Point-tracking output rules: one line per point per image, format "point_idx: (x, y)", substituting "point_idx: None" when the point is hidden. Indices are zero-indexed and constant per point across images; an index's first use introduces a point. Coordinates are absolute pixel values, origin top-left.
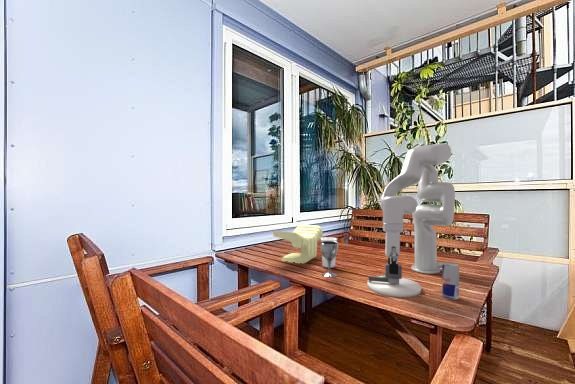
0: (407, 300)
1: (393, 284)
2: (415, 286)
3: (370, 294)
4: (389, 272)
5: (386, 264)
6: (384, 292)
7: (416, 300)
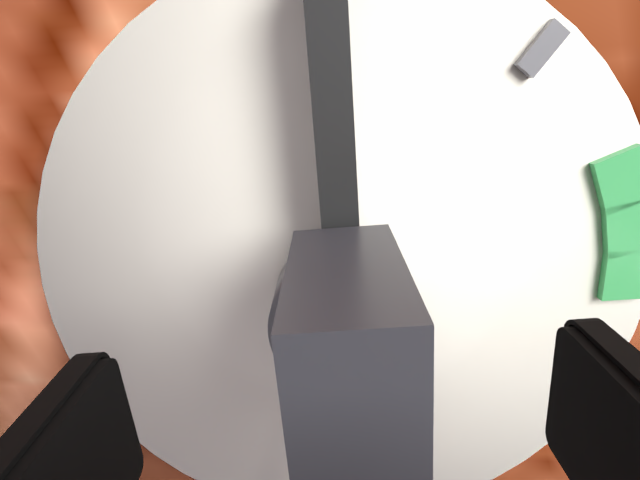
0: (49, 382)
1: None
2: None
3: (6, 35)
4: (68, 364)
5: (355, 354)
6: (46, 199)
7: None
